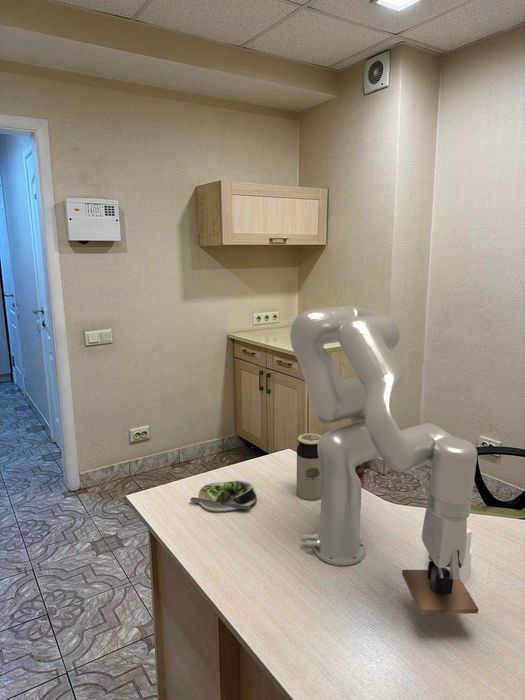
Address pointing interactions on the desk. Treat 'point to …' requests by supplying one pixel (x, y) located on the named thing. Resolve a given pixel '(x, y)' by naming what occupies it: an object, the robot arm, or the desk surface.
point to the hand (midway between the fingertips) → (439, 585)
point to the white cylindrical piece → (466, 566)
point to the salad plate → (226, 496)
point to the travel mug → (308, 467)
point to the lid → (434, 602)
